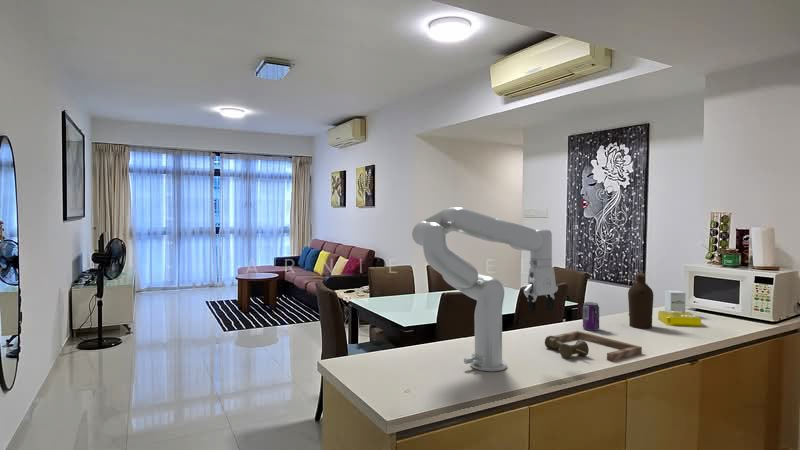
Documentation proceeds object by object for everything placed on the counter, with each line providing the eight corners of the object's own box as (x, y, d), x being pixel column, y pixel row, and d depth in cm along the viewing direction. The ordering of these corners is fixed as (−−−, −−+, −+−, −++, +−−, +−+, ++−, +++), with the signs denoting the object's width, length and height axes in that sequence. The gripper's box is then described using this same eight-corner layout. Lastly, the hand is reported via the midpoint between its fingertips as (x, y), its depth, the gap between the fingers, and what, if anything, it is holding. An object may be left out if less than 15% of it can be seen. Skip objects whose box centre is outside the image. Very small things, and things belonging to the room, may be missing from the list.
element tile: (689, 320, 228) (689, 311, 228) (702, 327, 214) (702, 317, 214) (656, 319, 232) (656, 309, 231) (667, 326, 217) (667, 316, 217)
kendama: (558, 347, 185) (597, 359, 166) (539, 350, 181) (576, 363, 163) (558, 332, 185) (596, 343, 166) (538, 335, 181) (575, 347, 163)
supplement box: (670, 316, 236) (670, 292, 236) (664, 313, 243) (664, 290, 243) (685, 317, 235) (685, 292, 234) (679, 313, 242) (679, 290, 242)
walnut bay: (611, 361, 164) (611, 354, 164) (548, 342, 189) (548, 336, 189) (641, 353, 173) (641, 346, 173) (577, 336, 198) (577, 330, 198)
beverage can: (600, 331, 207) (600, 305, 207) (584, 330, 208) (584, 304, 208) (597, 327, 214) (597, 302, 214) (581, 327, 215) (581, 301, 215)
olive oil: (658, 328, 211) (658, 274, 211) (638, 329, 209) (638, 275, 209) (643, 323, 221) (643, 272, 221) (623, 324, 220) (623, 272, 219)
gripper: (531, 265, 159) (532, 315, 159) (565, 262, 167) (565, 310, 168) (516, 263, 165) (516, 312, 165) (549, 261, 174) (549, 306, 174)
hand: (541, 310), depth 167 cm, fingers open, 8 cm apart
